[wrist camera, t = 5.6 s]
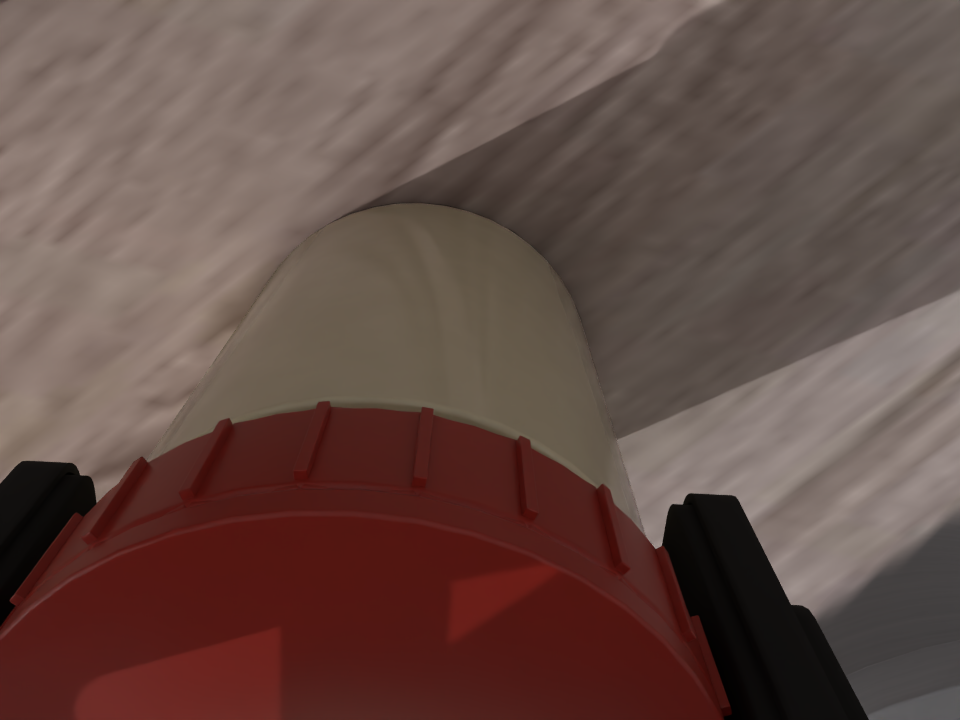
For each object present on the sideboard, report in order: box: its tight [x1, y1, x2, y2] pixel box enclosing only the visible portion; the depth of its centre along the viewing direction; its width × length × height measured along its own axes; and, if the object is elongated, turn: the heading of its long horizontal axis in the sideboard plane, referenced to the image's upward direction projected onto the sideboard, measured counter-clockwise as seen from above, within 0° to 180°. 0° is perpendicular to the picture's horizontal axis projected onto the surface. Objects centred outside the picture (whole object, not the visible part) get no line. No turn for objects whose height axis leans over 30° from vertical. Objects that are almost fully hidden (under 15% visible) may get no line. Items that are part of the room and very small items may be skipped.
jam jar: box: [146, 203, 646, 537], centre depth 13 cm, size 6×6×10 cm
